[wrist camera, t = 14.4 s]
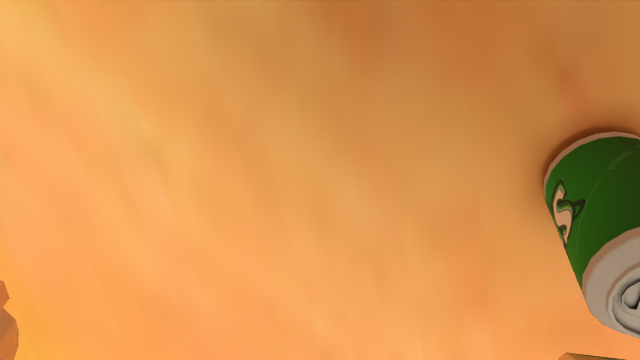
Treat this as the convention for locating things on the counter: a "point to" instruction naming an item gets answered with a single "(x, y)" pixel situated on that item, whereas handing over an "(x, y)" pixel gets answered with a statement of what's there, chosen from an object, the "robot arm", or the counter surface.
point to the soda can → (601, 223)
